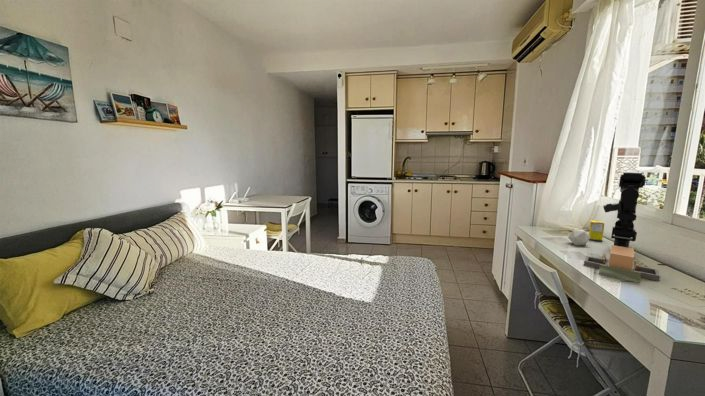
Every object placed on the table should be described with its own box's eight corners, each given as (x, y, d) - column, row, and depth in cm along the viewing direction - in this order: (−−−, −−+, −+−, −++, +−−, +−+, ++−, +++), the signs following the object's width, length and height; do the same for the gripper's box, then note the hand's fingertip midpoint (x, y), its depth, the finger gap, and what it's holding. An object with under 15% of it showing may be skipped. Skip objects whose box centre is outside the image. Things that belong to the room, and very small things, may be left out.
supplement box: (601, 239, 166) (604, 221, 164) (602, 241, 161) (604, 223, 159) (588, 237, 169) (590, 219, 168) (588, 239, 164) (591, 221, 163)
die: (589, 249, 150) (596, 233, 152) (574, 240, 151) (581, 224, 153) (577, 249, 158) (583, 234, 160) (562, 241, 159) (569, 226, 161)
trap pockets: (585, 259, 133) (586, 255, 133) (657, 274, 117) (658, 269, 117) (583, 265, 126) (584, 260, 126) (659, 281, 111) (659, 276, 110)
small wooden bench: (602, 257, 137) (603, 249, 136) (637, 263, 128) (639, 255, 128) (598, 273, 117) (600, 264, 117) (639, 282, 109) (641, 272, 108)
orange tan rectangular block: (608, 264, 128) (611, 244, 127) (630, 268, 124) (633, 248, 122) (607, 273, 118) (610, 253, 116) (630, 279, 113) (634, 257, 111)
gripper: (606, 195, 144) (602, 225, 146) (604, 199, 131) (600, 231, 133) (637, 197, 136) (632, 228, 139) (638, 201, 123) (633, 236, 125)
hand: (623, 231), depth 134 cm, fingers closed
